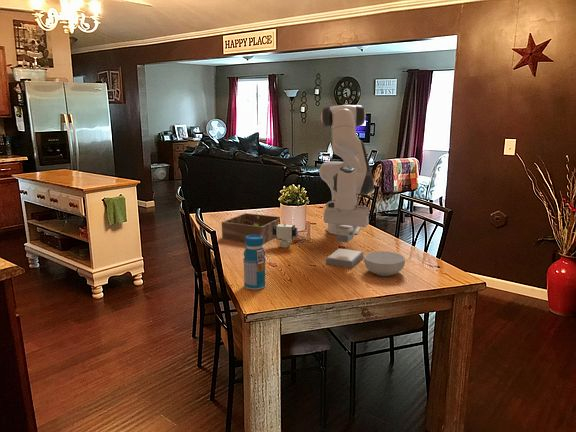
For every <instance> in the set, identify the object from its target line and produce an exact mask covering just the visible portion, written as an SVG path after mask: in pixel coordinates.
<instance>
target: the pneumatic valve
mask: <svg viewBox="0 0 576 432" xmlns="http://www.w3.org/2000/svg"><path fill="white" fill-rule="evenodd" d="M273 235H275V238H274V239H277V240H279V239H281V240H280V241H279V242H278V243H279V246H280V247H281V248H283V249H284V248H286V249H287V248H289V247H290V246H291V244H292V243H291V240H294V239H295V237H297V236H298V228H297V227H296V226H295V224H287V223H286V222H283V224H277V225H276V226H275V227H273Z"/></svg>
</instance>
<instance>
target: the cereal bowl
mask: <svg viewBox="0 0 576 432" xmlns="http://www.w3.org/2000/svg"><path fill="white" fill-rule="evenodd" d="M363 258H364V259H363V260H364V266H365V267H366V269H368V271H369V272H372V273H374V274H376V275H377V276H380V277H390V275H391V276H393V275H394V274H397V273H399V272H401V271H402V270H403V269H404V268H405V264H406V263H405V262H406V258H405V256H404V255H403V254H401V253H397V252H395V251H394V252H392V251H387V250H385V251H384V250H383V251H382V250H380V251H371V252H368V253H366V254H365V255H363Z"/></svg>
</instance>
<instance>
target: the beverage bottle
mask: <svg viewBox="0 0 576 432" xmlns="http://www.w3.org/2000/svg"><path fill="white" fill-rule="evenodd" d="M244 244H245V246H246V247H245V249H244V252H243V256H244V258H243V260H242V261H243V278H244V280H243V281H244V282H243V283H244V288H246V289H247V290H251V291H258V290H262V289H263V288H265V287H266V257H265V256H266V251H265V249H264V247H263V245H264V244H263V237H262V236H261V235H248V236H246V237H245V242H244Z"/></svg>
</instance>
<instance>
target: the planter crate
mask: <svg viewBox="0 0 576 432" xmlns="http://www.w3.org/2000/svg"><path fill="white" fill-rule="evenodd" d="M255 216H258V217H259V219H256V218H255V219H254V223H255V224H257V225H258V224H259V226H252V225H249V223H248V222H247V221H244V220H248V221H250V222H251V223H252V220H253V218H254V217H255ZM280 217H281V216H276V215H275V216H274V215H266V214H257V213H247V212H244V213H241V214H239V215H237V216H234V217H232V218H229V219H227V220H224V221H222V222H221V237H222V240H228V241H235V242H242V243H245V237H246V236H248V235H261V236H262V237H263V245H264V244H266V243H267V242H270V241H271V240H273V239H276V238H275V235H273V227H275V226H276V225H277V224H278V222H280ZM242 221H244V224H242ZM260 226H261V227H260Z"/></svg>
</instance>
